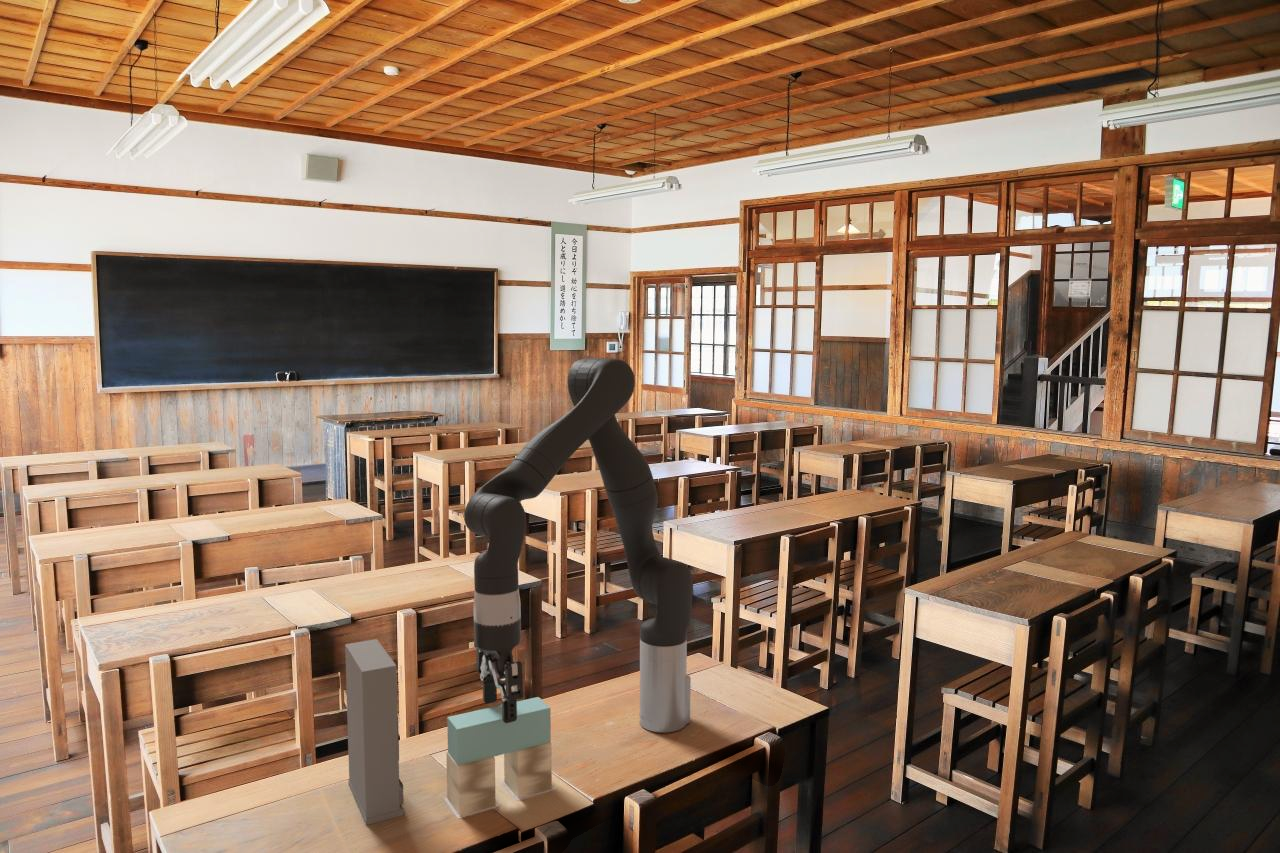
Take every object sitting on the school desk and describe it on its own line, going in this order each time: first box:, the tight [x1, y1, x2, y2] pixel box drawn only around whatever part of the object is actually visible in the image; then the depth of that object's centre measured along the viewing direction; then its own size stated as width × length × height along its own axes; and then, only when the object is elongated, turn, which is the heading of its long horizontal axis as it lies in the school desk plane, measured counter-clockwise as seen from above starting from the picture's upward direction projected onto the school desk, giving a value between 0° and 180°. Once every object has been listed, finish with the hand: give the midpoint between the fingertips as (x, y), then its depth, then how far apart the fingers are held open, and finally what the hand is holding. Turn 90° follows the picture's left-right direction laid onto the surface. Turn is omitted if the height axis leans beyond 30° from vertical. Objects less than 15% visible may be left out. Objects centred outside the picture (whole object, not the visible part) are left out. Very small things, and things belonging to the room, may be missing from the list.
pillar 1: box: [446, 751, 497, 816], centre depth 136 cm, size 6×6×8 cm
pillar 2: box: [503, 741, 553, 799], centre depth 141 cm, size 6×6×8 cm
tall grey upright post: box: [344, 638, 405, 826], centre depth 136 cm, size 14×6×25 cm, turn 30°
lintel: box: [446, 696, 552, 766], centre depth 138 cm, size 16×5×6 cm, turn 120°
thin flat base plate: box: [443, 780, 557, 820], centre depth 139 cm, size 20×10×1 cm, turn 121°
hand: (499, 711), depth 138 cm, fingers open, 8 cm apart
